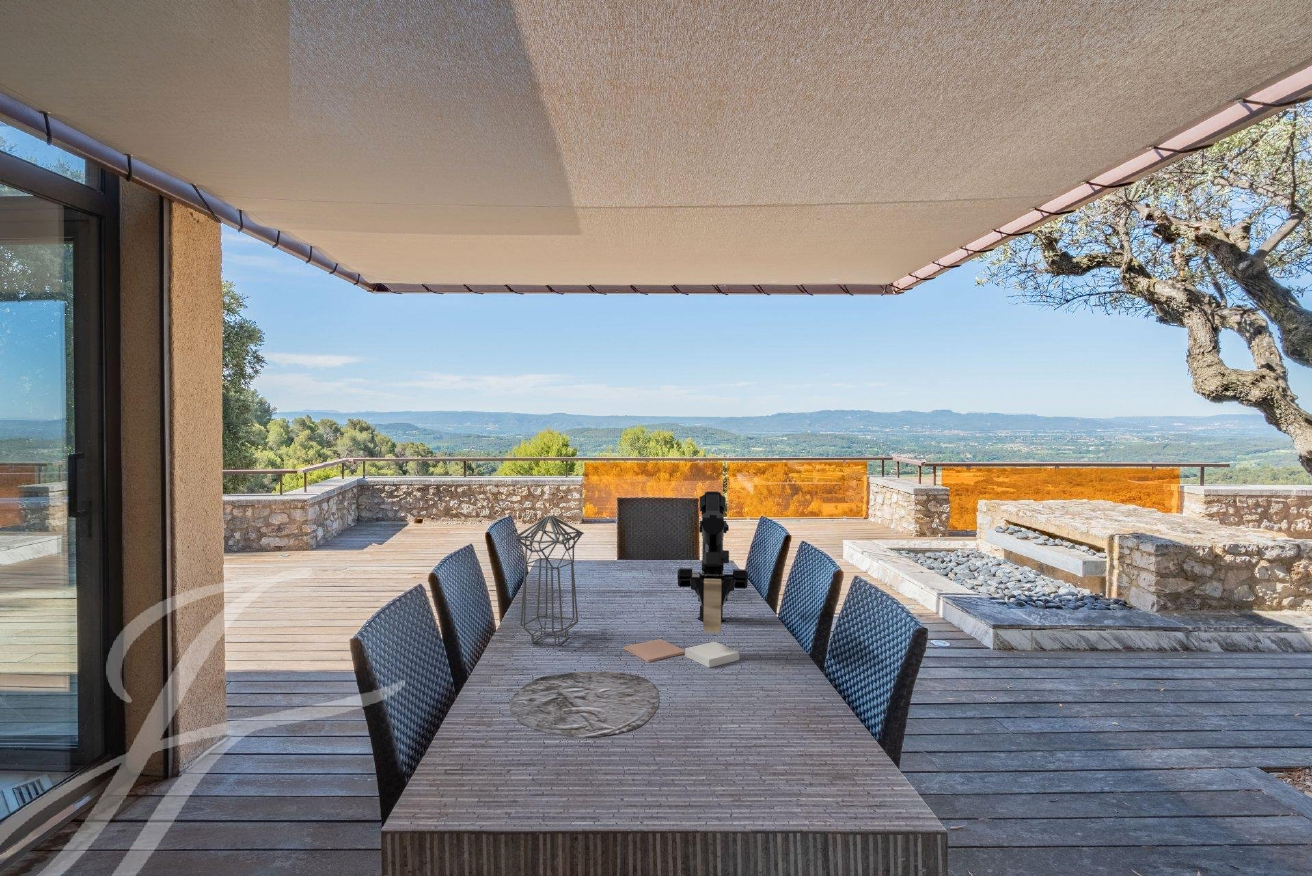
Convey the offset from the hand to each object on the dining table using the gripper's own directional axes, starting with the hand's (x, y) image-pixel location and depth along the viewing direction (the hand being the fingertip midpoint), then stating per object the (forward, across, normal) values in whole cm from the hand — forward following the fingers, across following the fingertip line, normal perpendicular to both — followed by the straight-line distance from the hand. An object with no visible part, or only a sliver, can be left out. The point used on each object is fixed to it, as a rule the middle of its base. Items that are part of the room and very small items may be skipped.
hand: (712, 606), depth 177 cm
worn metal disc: (+31, -27, -13) cm, 43 cm away
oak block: (+4, 0, +6) cm, 7 cm away
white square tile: (+10, 0, +8) cm, 13 cm away
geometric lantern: (+4, -45, +16) cm, 48 cm away
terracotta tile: (+8, -15, +11) cm, 20 cm away
